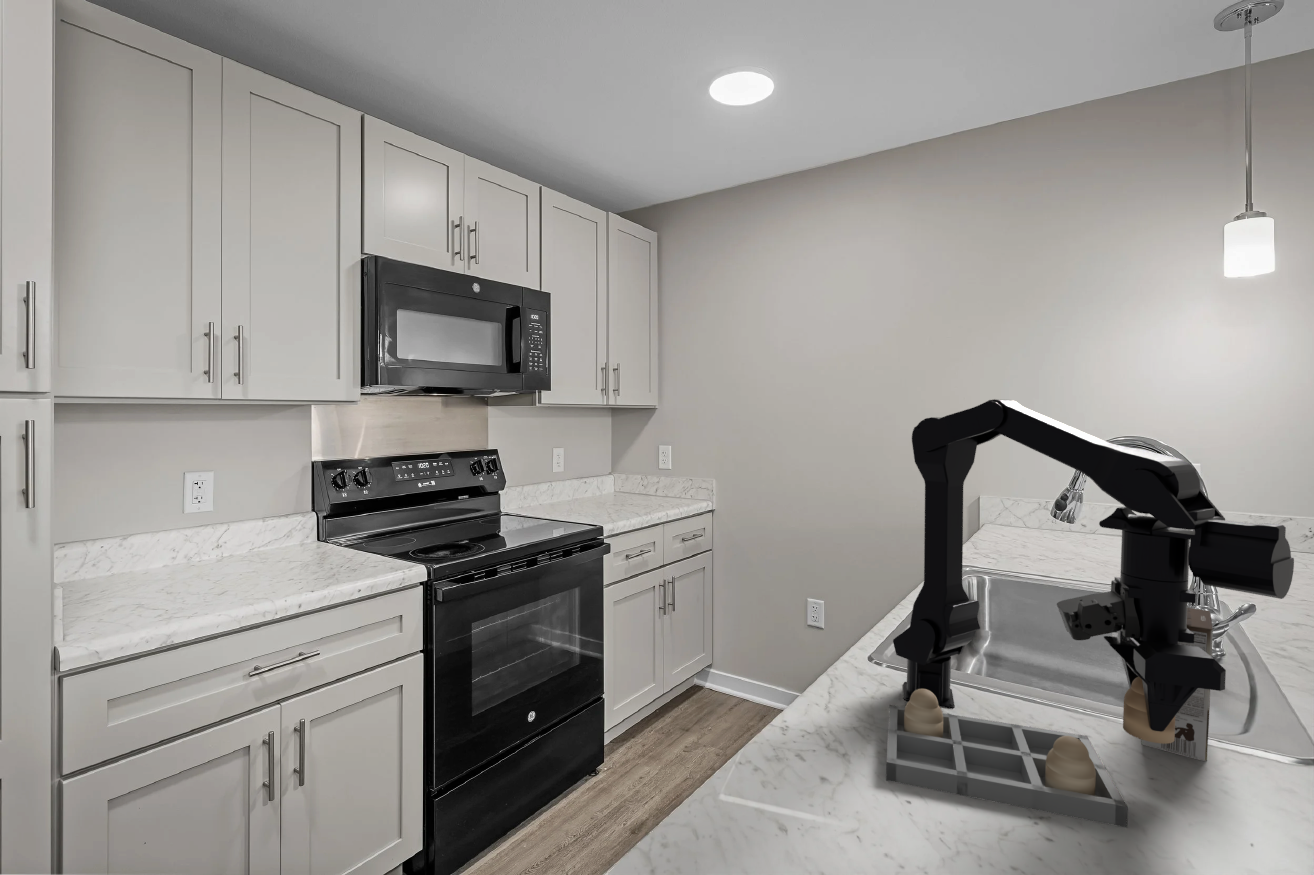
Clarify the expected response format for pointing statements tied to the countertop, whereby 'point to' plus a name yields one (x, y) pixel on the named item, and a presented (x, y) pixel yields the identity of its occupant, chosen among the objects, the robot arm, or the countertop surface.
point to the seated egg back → (923, 714)
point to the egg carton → (996, 766)
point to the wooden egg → (1142, 717)
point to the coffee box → (1193, 699)
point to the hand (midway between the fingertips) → (1148, 720)
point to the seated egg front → (1070, 767)
